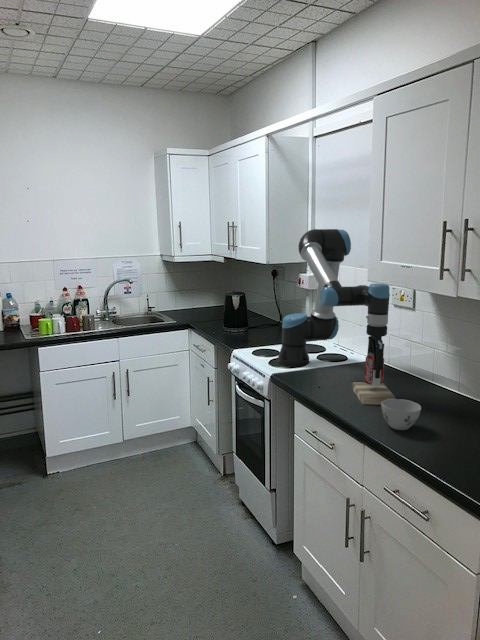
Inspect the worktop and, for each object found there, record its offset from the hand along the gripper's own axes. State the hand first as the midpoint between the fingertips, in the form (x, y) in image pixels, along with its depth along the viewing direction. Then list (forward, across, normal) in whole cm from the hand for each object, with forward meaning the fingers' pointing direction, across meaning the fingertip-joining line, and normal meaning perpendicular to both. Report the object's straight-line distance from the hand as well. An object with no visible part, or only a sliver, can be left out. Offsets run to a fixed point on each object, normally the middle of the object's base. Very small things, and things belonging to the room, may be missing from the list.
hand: (373, 382), depth 194 cm
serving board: (+6, 0, 0) cm, 6 cm away
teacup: (+6, +28, +1) cm, 29 cm away
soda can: (+1, 0, 0) cm, 1 cm away
